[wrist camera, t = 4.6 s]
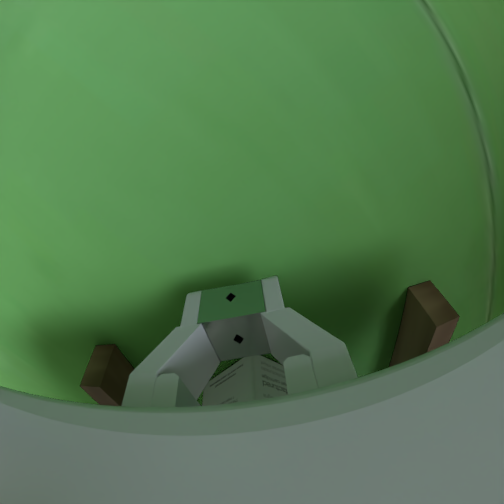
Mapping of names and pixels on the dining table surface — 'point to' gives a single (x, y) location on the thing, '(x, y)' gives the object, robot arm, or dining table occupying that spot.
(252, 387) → the ink box
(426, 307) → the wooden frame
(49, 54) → the dining table surface
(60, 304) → the dining table surface
